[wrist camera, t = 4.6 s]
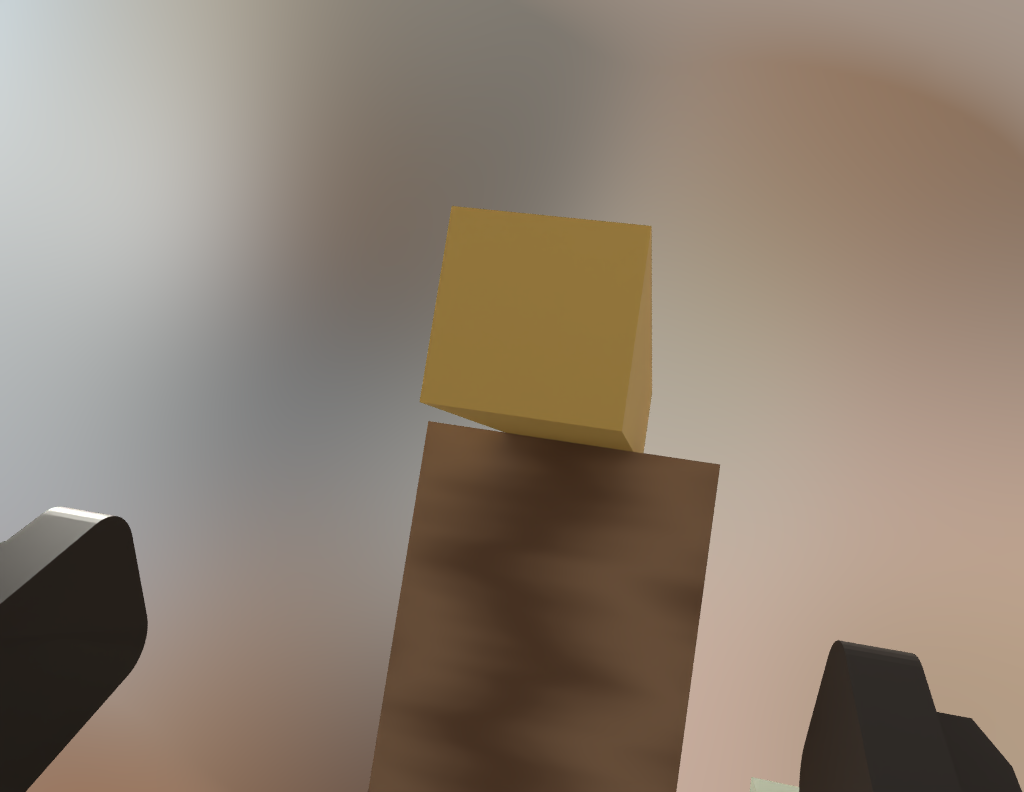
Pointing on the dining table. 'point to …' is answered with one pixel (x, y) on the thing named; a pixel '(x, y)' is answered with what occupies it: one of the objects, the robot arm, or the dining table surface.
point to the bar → (544, 327)
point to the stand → (544, 618)
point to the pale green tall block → (770, 786)
